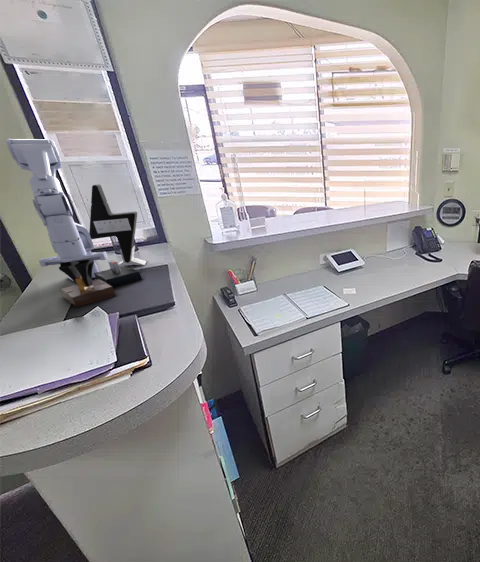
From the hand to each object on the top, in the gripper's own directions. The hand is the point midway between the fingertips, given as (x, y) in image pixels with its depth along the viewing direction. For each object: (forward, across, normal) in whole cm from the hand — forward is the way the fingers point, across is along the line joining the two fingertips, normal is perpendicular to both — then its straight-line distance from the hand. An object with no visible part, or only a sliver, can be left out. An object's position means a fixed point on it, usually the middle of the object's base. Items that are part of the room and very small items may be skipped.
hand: (85, 286), depth 90 cm
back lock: (0, +3, +13) cm, 13 cm away
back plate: (+3, +3, +13) cm, 14 cm away
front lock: (0, 0, 0) cm, 0 cm away
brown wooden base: (+3, 0, 0) cm, 3 cm away
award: (+4, 0, +32) cm, 32 cm away
